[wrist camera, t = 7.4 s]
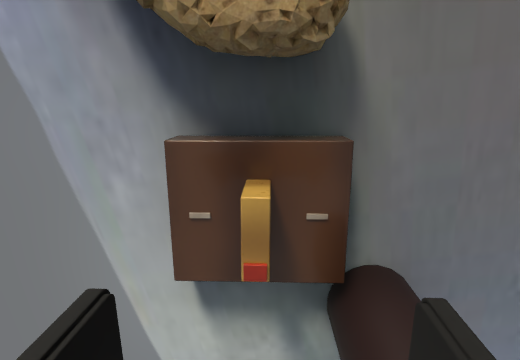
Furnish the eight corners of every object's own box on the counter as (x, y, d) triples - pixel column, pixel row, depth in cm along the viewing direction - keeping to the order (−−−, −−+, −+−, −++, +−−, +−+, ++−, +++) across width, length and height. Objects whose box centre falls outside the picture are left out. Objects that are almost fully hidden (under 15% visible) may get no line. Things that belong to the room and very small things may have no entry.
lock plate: (343, 135, 23) (354, 141, 20) (335, 262, 25) (345, 285, 22) (177, 135, 23) (162, 140, 20) (185, 260, 25) (173, 282, 22)
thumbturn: (245, 179, 21) (239, 198, 16) (270, 179, 20) (270, 198, 16) (246, 250, 22) (240, 284, 18) (269, 250, 22) (269, 285, 18)
